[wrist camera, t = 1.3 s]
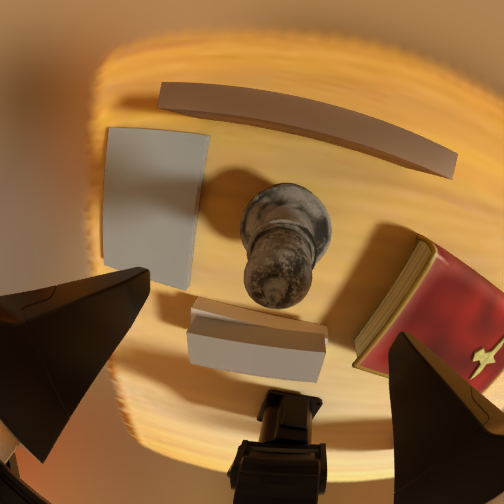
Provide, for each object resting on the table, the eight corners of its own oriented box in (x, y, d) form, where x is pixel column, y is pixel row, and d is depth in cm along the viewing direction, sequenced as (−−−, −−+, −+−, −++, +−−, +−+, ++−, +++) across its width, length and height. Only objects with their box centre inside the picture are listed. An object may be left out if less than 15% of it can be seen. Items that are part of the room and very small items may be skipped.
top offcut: (316, 363, 23) (316, 382, 21) (198, 346, 24) (189, 363, 22) (324, 333, 22) (325, 352, 19) (196, 315, 23) (186, 332, 21)
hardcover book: (417, 230, 19) (439, 248, 16) (522, 307, 19) (539, 325, 16) (347, 338, 24) (352, 369, 20) (467, 379, 24) (477, 401, 20)
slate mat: (189, 285, 24) (185, 290, 23) (109, 260, 25) (103, 264, 24) (210, 135, 19) (205, 135, 18) (116, 127, 20) (109, 127, 19)
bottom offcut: (314, 353, 26) (314, 370, 23) (197, 326, 27) (189, 341, 24) (326, 322, 24) (328, 338, 22) (199, 294, 25) (191, 307, 23)
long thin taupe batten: (406, 168, 17) (452, 179, 11) (200, 118, 19) (156, 108, 12) (410, 149, 17) (457, 153, 10) (204, 100, 18) (161, 82, 12)
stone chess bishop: (234, 206, 21) (163, 274, 10) (299, 164, 19) (300, 183, 8) (277, 266, 22) (253, 378, 11) (340, 230, 20) (380, 323, 9)
